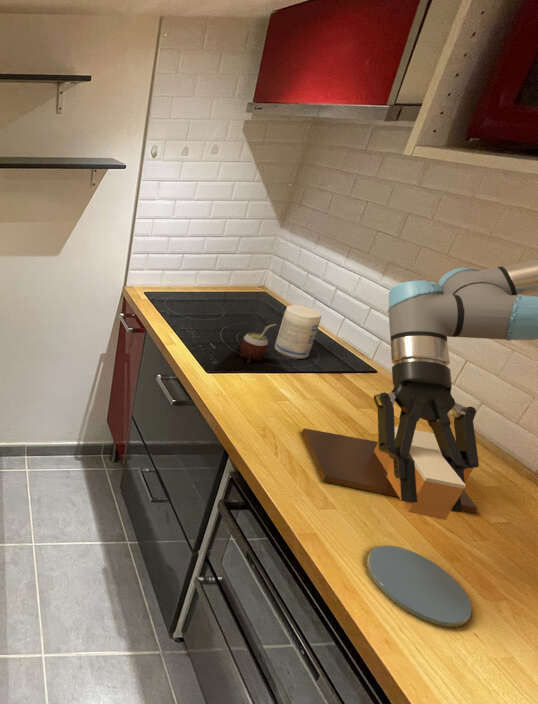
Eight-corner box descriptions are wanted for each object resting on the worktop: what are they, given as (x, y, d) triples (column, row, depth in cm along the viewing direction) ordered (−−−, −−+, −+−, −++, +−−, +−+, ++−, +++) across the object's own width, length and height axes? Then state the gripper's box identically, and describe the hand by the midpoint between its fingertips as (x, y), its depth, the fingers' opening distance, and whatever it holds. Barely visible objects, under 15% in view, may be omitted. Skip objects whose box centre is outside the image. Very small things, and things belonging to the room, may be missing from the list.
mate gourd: (241, 350, 143) (252, 308, 137) (268, 359, 139) (281, 315, 133) (235, 360, 138) (246, 316, 132) (263, 369, 134) (276, 324, 127)
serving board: (430, 457, 101) (433, 452, 100) (475, 513, 87) (478, 508, 86) (301, 432, 108) (303, 427, 107) (323, 481, 94) (325, 476, 93)
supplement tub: (310, 362, 137) (325, 320, 131) (275, 356, 141) (288, 314, 135) (305, 348, 145) (318, 307, 139) (272, 342, 149) (284, 302, 143)
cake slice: (420, 483, 78) (437, 450, 75) (445, 520, 71) (466, 485, 68) (386, 476, 79) (402, 443, 76) (407, 512, 72) (426, 477, 69)
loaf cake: (438, 463, 97) (452, 436, 94) (459, 491, 90) (476, 463, 87) (373, 451, 100) (385, 424, 97) (389, 477, 93) (403, 449, 90)
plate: (462, 578, 75) (465, 574, 74) (475, 646, 65) (478, 642, 65) (367, 536, 82) (369, 532, 82) (366, 591, 73) (368, 588, 72)
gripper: (467, 379, 79) (483, 519, 72) (349, 362, 84) (353, 491, 77) (501, 370, 73) (522, 523, 65) (371, 351, 77) (377, 492, 70)
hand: (430, 506), depth 71 cm, fingers closed on cake slice, 5 cm apart
